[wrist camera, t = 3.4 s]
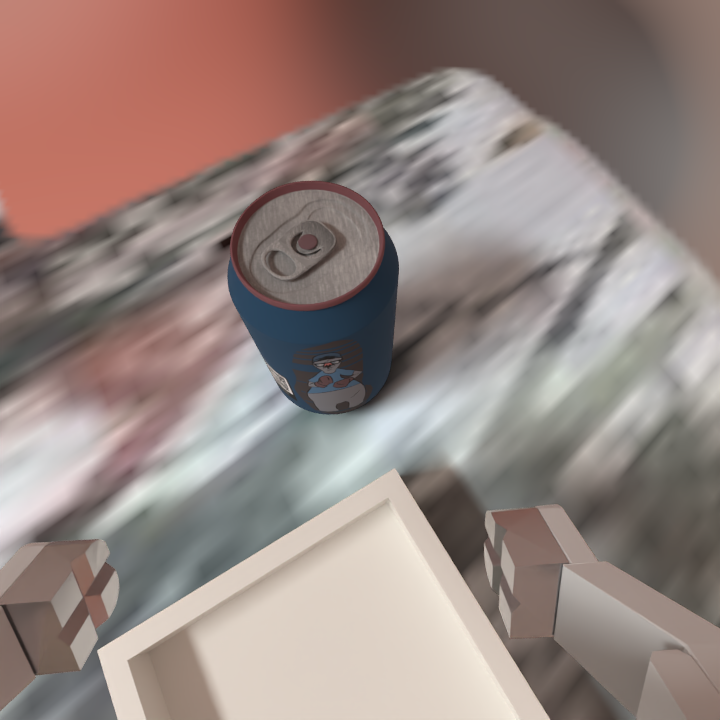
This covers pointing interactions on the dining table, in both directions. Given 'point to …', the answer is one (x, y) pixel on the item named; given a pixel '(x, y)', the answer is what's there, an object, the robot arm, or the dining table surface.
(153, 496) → the dining table surface
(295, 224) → the soda can
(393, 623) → the tray
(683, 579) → the dining table surface
